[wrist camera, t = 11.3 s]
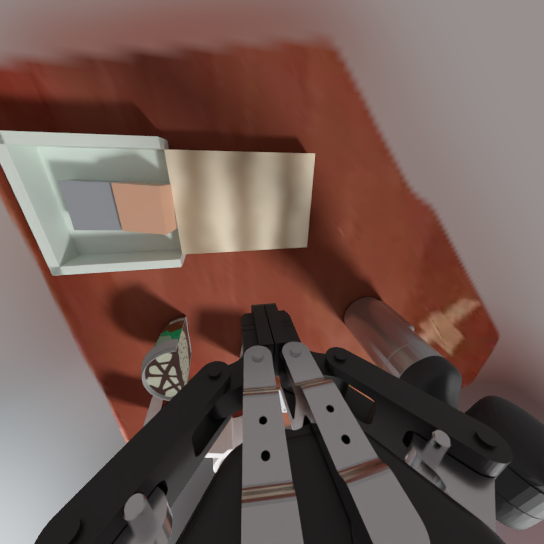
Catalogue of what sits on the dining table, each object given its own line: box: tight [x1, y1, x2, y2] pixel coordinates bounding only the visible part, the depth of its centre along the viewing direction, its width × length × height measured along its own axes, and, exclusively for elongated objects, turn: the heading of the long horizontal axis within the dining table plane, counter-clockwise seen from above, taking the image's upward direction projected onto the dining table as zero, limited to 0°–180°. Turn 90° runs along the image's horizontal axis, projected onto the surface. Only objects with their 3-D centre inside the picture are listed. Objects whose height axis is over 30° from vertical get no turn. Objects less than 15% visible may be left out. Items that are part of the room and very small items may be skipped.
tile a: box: [111, 181, 177, 235], centre depth 30 cm, size 6×6×3 cm
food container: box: [141, 316, 192, 401], centre depth 39 cm, size 12×6×10 cm, turn 178°
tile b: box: [58, 179, 124, 230], centre depth 30 cm, size 6×6×3 cm
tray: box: [0, 131, 186, 276], centre depth 30 cm, size 16×16×5 cm
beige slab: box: [164, 149, 315, 254], centre depth 34 cm, size 20×14×3 cm
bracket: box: [143, 396, 243, 473], centre depth 49 cm, size 25×10×12 cm, turn 63°
